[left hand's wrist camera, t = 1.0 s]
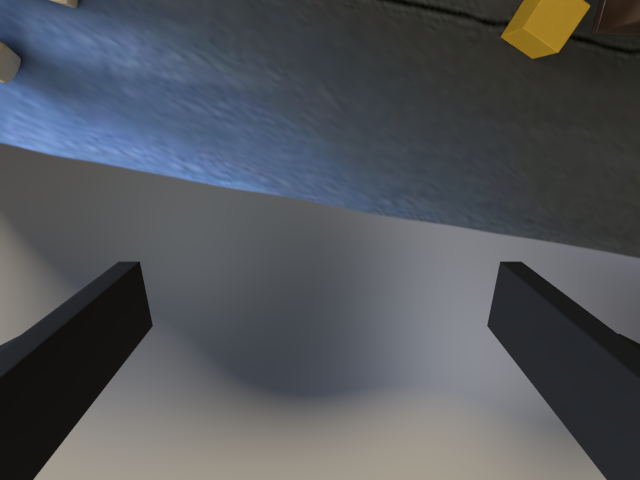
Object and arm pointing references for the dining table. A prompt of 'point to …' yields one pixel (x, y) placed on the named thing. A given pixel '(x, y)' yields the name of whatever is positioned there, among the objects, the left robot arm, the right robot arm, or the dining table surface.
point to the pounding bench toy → (5, 63)
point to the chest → (617, 18)
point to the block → (544, 25)
